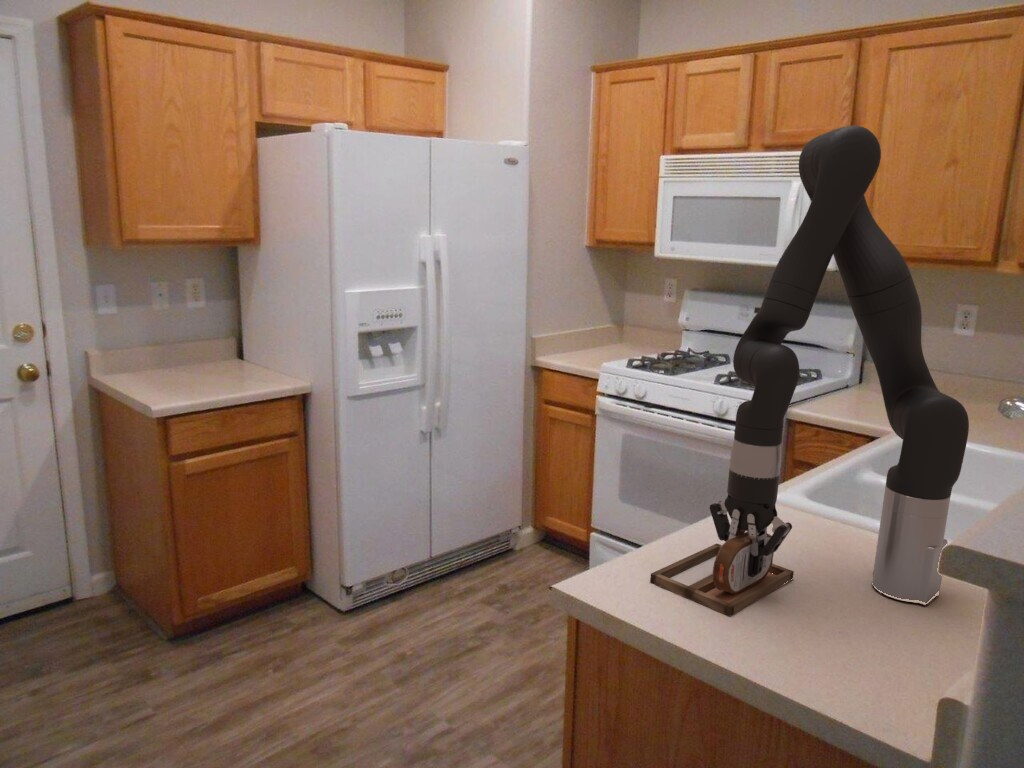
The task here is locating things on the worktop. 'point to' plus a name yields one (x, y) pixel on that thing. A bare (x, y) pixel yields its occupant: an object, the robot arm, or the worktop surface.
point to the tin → (737, 565)
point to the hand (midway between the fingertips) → (743, 571)
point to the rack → (706, 589)
